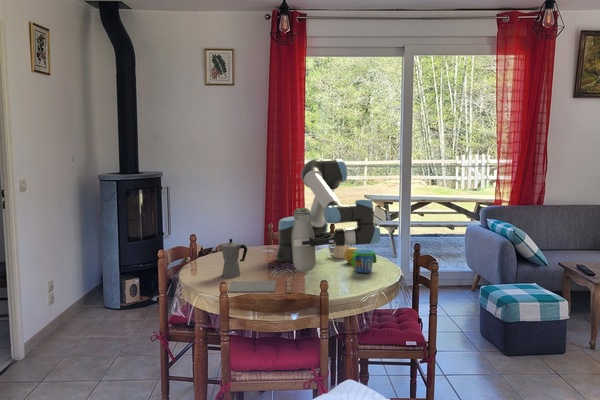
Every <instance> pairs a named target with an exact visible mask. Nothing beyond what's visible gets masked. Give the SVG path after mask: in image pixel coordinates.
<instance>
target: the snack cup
mask: <svg viewBox="0 0 600 400" xmlns="http://www.w3.org/2000/svg"><path fill="white" fill-rule="evenodd" d="M377 260H378V259H377V255H376V252H375V250H371V249H358V250H355V251H353V256H352V259H351V263H350V266H351V267H352V268H355V270H356V272H358V273H361V274H365V273H366V274H367V273H370V272H372V271H373V265H374V264H376V263H377Z"/></svg>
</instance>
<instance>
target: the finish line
mask: <svg viewBox="0 0 600 400" xmlns="http://www.w3.org/2000/svg"><path fill="white" fill-rule="evenodd" d="M285 288H286V291H285V293H291V294H292V279H291V278H290V279H286V287H285Z"/></svg>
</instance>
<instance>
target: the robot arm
mask: <svg viewBox="0 0 600 400" xmlns="http://www.w3.org/2000/svg"><path fill="white" fill-rule="evenodd" d="M300 173H301V174H300V176H301V181H302V182H303V183H304V186H306V187H307V188H309V189H310V191H312V193H313V195H314V198H313V201H312V203H311V207H310V209H309V211H310V214H311V217H310V219H311V224H312V227H313V231H314V235H315V239H312V238H309V239H299V240H294V246H309V245H310V246H312V247H314V246H315V247H319V246H325V245H327V246H328V245H331V244H334V242H335V244H336V246H344V245H345V244H346V245H349V247H353V246H356V245H357V246H358V245H372V244H378V243H380V241H381V237H382V236H381V235H382V234H381V228H380V227H379V226H378V225H375V217H374V203H373V200H371V199H369V198H368V199H356V200H355V201H354V203H353V204H342V202H341V201H340V200H339V198H338V197H337V196H336V194H335V193H334V192H335V190H336V189H338V188H339V187H340V184H341V183H345V182H346V181H347V179H348V168H347V165H346V162H345V161H344V160H343V159H341V158H323V159H322V158H321V159H319V158H317V159H311V160H308V161H307V162H306V163H305V164H304V165H303V167H302V169H301V172H300ZM344 223H345V224H346V223H356V227H345V228H335V229H334V233H331V232H330V231H329V232H328V227H329V225H328V224H335V225H336V224H344ZM293 224H294V216H288V217H283V218H281V219H280V220H278V228H277V229H278V247H277V251H276V254H275V261H277V262H278V263H286V264H287V263H289V264H291V263H293V253H292V239H291V235H292V229H293ZM309 240H310V241H309Z"/></svg>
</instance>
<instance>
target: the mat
mask: <svg viewBox="0 0 600 400" xmlns="http://www.w3.org/2000/svg"><path fill="white" fill-rule="evenodd" d="M276 284H277V281H276V280H233V281H231V284H230V286H229V288H228V290H227V293H275V291H276Z"/></svg>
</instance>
